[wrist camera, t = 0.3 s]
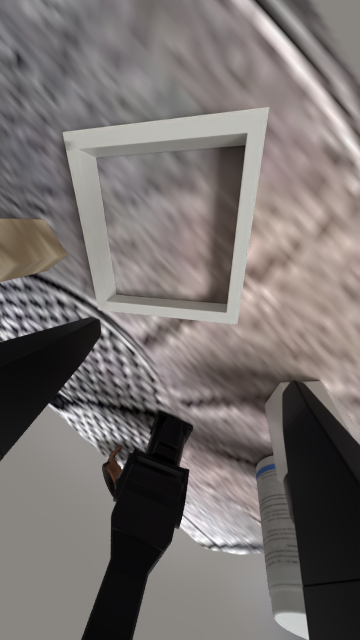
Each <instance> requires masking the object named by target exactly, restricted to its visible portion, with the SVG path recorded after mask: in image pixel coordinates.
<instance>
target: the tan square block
mask: <svg viewBox="0 0 360 640" xmlns="http://www.w3.org/2000/svg"><path fill="white" fill-rule="evenodd" d="M67 255H68V254H67V253H66V251H65V250H64V248H63V247H62V245H61V244H60V242H59V241H58V239H57V238H56V236H55V235H54V233H53V232H52V230H51V229H50V227H49V226H48V224H47V223H46V221H45V220H42V219H2V218H0V282H3V281H7V280H11V279H15V278H19V277H23V276H27V275H31V274H35V273H39V272H43V271H47V270H48V269H50V268H51V267H52V266H54V265H55V264H56V263H58V262H59V261H61V260H62V259H63V258H65V257H66V256H67Z"/></svg>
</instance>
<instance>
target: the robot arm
mask: <svg viewBox="0 0 360 640" xmlns="http://www.w3.org/2000/svg"><path fill="white" fill-rule="evenodd" d="M100 335H101V324H100V320H99V319H97V318H94V317H89V318H85V319H81V320H78V321H74V322H71V323H67V324H64V325H60V326H56V327H53V328H49V329H46V330H42V331H39V332H35V333H31V334H28V335H24V336H21V337H17V338H14V339H10V340H7V341H3V342H0V461H1V460H2V459H3V457H4V456H5V455H6V454H7V452H8V451H9V450H10V449H11V448H12V446H13V445H14V444H15V443H16V442H17V440H18V439H19V438H20V437H21V436H22V435H23V433H24V432H25V431H26V430H27V429H28V427H29V426H30V425H31V424H32V422H33V421H34V420H35V419H36V418H37V416H38V415H39V414H40V413H41V412H42V411H43V409H44V408H45V407H46V406H47V405H48V403H49V402H50V401H51V400H52V399H53V397H54V396H55V395H56V394H57V393H58V391H59V390H60V389H61V388H62V387H63V386H64V384H65V383H66V382H67V381H68V380H69V378H70V377H71V376H72V375H73V374H74V372H75V371H76V370H77V369H78V368H79V366H80V365H81V364H82V363H83V361H84V360H85V359H86V357H87V356H88V354H89V353H90V351H91V350H92V348H93V347H94V345H95V344H96V342H97V341H98V339H99V338H100ZM282 427H283V439H284V446H285V454H286V462H287V470H288V478H289V486H290V493H291V501H292V509H293V517H294V525H295V533H296V540H297V548H298V556H299V564H300V572H301V580H302V585H303V587H302V589H303V597H304V604H305V612H306V620H307V628H308V636H309V640H360V444H359V443H358V442H357V441H356V440H355V439H354V438H353V437H352V435H351V434H350V433H349V432H348V431H347V430H346V429H345V428H344V427H343V425H342V424H341V423H340V422H339V421H338V420H337V419H336V418H335V417H334V415H333V414H332V413H331V412H330V411H329V410H328V409H327V408H326V407H325V406H324V404H323V403H322V402H321V401H320V400H319V399H318V398H317V397H316V396H315V394H314V393H313V392H312V391H311V390H310V389H309V388H308V387H307V386H306V384H305V383H303V382H300V381H297V380H292V381H291V382H290V383H289V384H288V386H287V387H286V388H285V390H284V391H283V394H282ZM192 430H193V426H192V425H190V424H187V423H185V422H183V421H180V420H178V419H176V418H173V417H171V416H169V415H167V414H164V413H162V412H158V413H157V415H156V418H155V421H154V423H153V426H152V428H151V431H150V434H151V437H150V440H149V442H148V445H147V448H146V450H145V453H143V452H141V451H138V449H135V450H134V452H133V453H130V455H129V457H128V460H127V462H126V464H125V466H124V467H123V469H122V471H121V472H120V474H119V475H118V477H117V479H116V480H115V483H114V485H115V495H114V498H113V501H114V502H116V504H115V507H114V509H113V512H112V515H111V558H110V562H109V565H108V567H107V570H106V573H105V576H104V578H103V581H102V584H101V587H100V589H99V592H98V595H97V598H96V600H95V603H94V606H93V609H92V611H91V614H90V617H89V620H88V622H87V625H86V628H85V631H84V634H83V636H82V639H81V640H132V639H133V635H134V631H135V627H136V623H137V618H138V614H139V611H140V606H141V602H142V598H143V594H144V590H145V585H146V582H147V578H148V575H149V574H150V572H151V571H152V569H153V568H154V567H155V565H156V564H157V562H158V561H159V559H160V558H161V556H162V555H163V554H164V552H165V551H166V549H167V548H168V546H169V545H170V543H171V541H172V538H173V533H174V528H177V529H179V526H180V523H181V520H182V516H183V511H184V506H185V500H186V492H187V485H188V477H189V469H184V468H182V467H179V466H180V462H181V457H182V453H183V448H184V444H185V443H186V441H187V439H188V437H189V436H190V434H191V432H192Z"/></svg>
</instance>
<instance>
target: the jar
mask: <svg viewBox="0 0 360 640" xmlns="http://www.w3.org/2000/svg"><path fill="white" fill-rule="evenodd" d="M289 383H290V382H281V383H280V384H279V385H278V386H277V388H276V389H275V391H274V392H273V393H272V395H271V396H270V398H269V399H268V400H267V402H266V403H265V410H266V416H267V421H268V427H269V433H270V438H271V444H272V450H273V455H274V461H275V467H276V472H277V478H278V481H279V482H280V483H281V484H282V485H283V486H284V489H285V494H286V500H287V505H288V510H289V515H290V518H291V520H292V522H293V523H294V517H293V509H292V501H291V493H290V486H289V478H288V470H287V462H286V454H285V446H284V439H283V427H282V394H283V391H284V390H285V388H286V387H287V386H288V384H289ZM303 383H305V384H306V386H307V387H308V388H309V389H310V390H311V391H312V392H313V393H314V394H315V396H316V397H317V398H318V399H319V400H320V401H321V402H322V403H323V404H324V406H325V407H326V408H327V409H328V410H329V411H330V412H331V413H332V414H333V415H334V417H335V418H336V419H337V420H338V421H339V422H340V423H341V424H342V425H343V427H344V428H345V429H346V430H347V431H348V432H349V433H350V434H351V435H352V437H353V438H354V439H355V440H356V441H357V442H358V443H359V444H360V433H359V431H358V429H357V428H356V426H355V424H354V423H353V421H352V419H351V418H350V416H349V415H348V413H347V411H346V410H345V408H344V406H343V405H342V404H341V402H340V401H339V400H338V399H337V398H336V397H335V396H334V395H333V394H332V392H331V391H330V390H329V389H328V388H327V387H326V386H325V385H324V383H323V382H321V381H307V382H303Z"/></svg>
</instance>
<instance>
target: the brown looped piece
mask: <svg viewBox="0 0 360 640" xmlns="http://www.w3.org/2000/svg"><path fill="white" fill-rule="evenodd" d="M120 449H121V446H118V447H117V448H116V449H115V450H114V451H112V453H111V455H110V456H109V458H108V461H107V462H106V463H105V464H103V466H102V471H103V475H104V479H105V482H106V484H107V487H108V489H109V491H110V493H111V495H112V496H113V497H114V495H115V485H114V483H115V480H116V479H117V477H118V475H119V474H120V472H121V471H122V469H121V467H120V466H119V465H118V464H117V461H116V460H115V459H114V458H115V456H116V454H117V453H118V452H119V451H120Z"/></svg>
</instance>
